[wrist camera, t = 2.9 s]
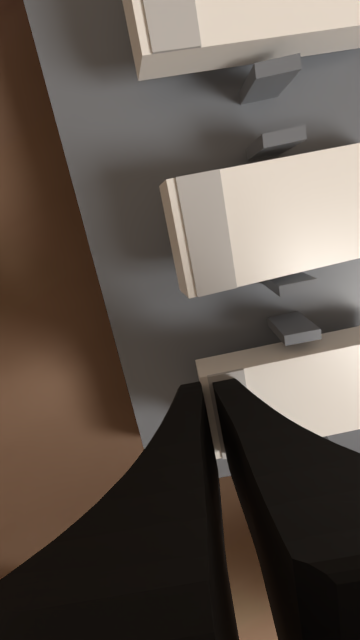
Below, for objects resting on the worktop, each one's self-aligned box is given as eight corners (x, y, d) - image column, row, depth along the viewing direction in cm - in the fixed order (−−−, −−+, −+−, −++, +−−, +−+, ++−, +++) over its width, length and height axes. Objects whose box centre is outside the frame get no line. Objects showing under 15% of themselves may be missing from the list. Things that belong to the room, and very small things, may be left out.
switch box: (427, -140, 10) (643, -444, 5) (418, 392, 15) (524, 469, 11) (36, -46, 10) (-71, -251, 6) (158, 438, 16) (151, 531, 11)
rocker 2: (372, 145, 9) (411, 132, 8) (375, 244, 10) (410, 246, 9) (159, 186, 8) (166, 178, 7) (180, 290, 9) (189, 299, 8)
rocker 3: (387, 320, 10) (418, 333, 9) (388, 397, 11) (416, 419, 10) (195, 360, 10) (200, 378, 9) (209, 434, 11) (216, 460, 10)
